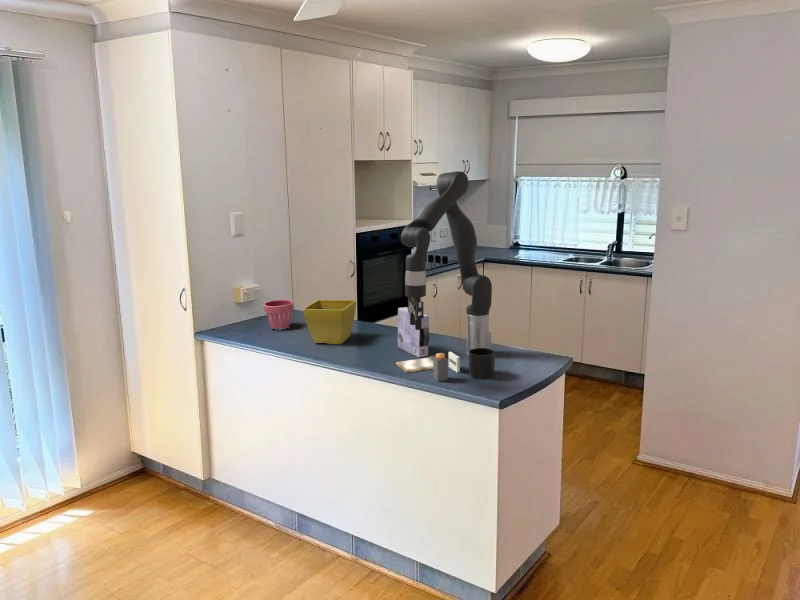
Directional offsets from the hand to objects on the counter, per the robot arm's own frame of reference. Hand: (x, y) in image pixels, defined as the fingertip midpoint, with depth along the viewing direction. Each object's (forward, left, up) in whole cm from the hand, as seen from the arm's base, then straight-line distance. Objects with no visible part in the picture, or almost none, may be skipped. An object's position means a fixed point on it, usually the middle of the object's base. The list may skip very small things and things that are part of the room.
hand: (415, 327), depth 236 cm
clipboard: (-6, -13, -20) cm, 24 cm away
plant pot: (+35, -97, -20) cm, 105 cm away
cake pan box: (-10, -31, -20) cm, 38 cm away
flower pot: (+17, -64, -20) cm, 69 cm away
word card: (-16, -3, -20) cm, 26 cm away
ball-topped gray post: (-7, +5, -20) cm, 22 cm away
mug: (-24, +6, -20) cm, 32 cm away
